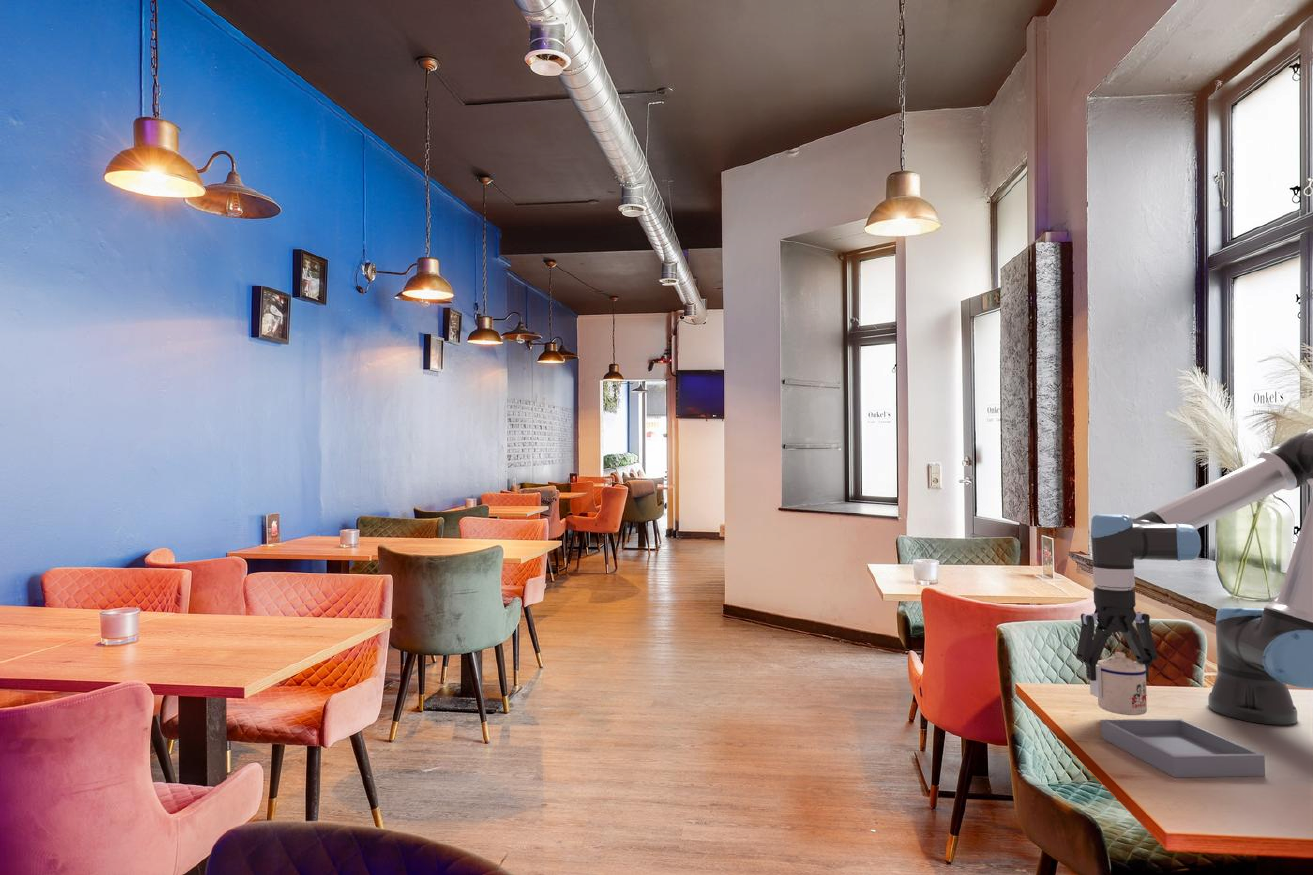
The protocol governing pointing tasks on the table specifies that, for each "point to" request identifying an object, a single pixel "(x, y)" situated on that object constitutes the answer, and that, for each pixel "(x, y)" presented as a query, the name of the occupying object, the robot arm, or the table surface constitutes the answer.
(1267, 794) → the table surface
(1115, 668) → the teacup with lid
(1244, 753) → the tray
